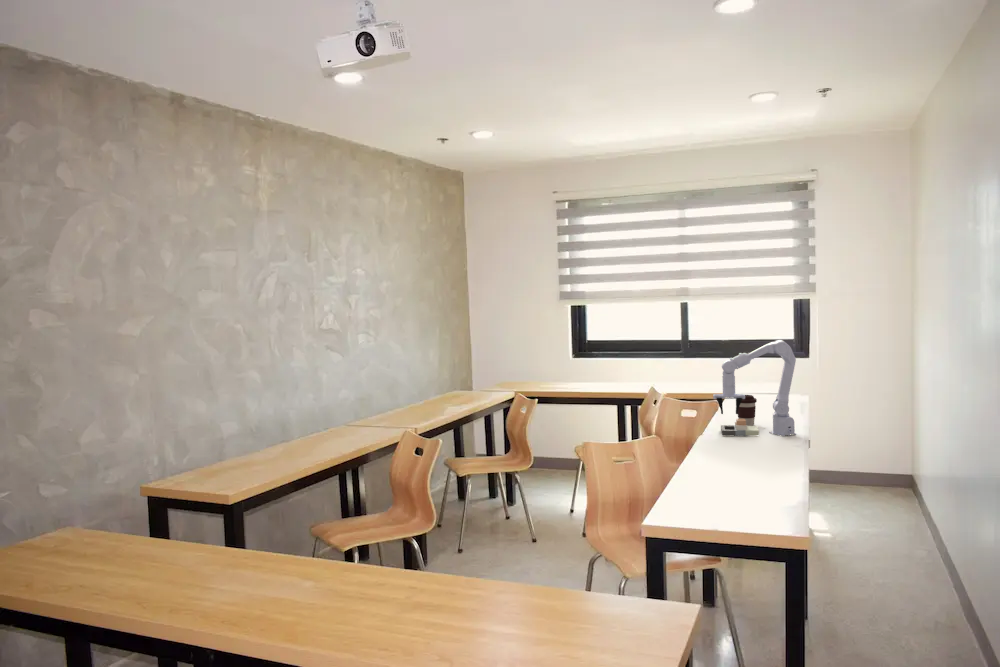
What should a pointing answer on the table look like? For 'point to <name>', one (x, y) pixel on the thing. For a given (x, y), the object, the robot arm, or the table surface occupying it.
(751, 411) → the coffee cup
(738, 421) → the terracotta block
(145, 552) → the table surface
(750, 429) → the pad
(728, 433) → the gray recessed tray
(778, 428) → the robot arm
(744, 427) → the channel walls
